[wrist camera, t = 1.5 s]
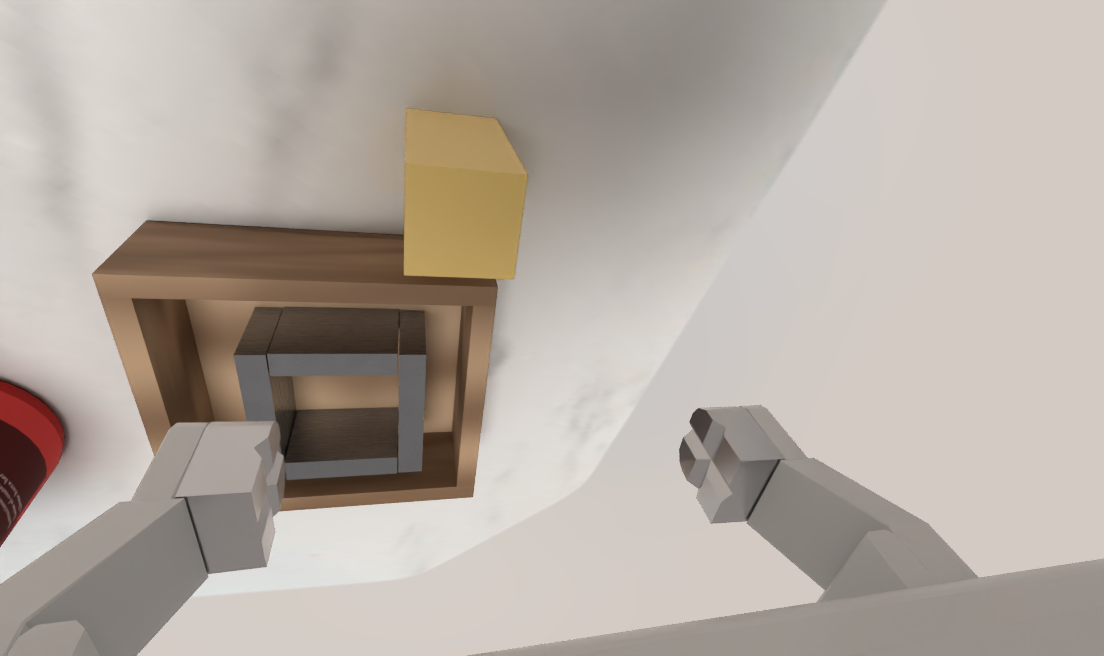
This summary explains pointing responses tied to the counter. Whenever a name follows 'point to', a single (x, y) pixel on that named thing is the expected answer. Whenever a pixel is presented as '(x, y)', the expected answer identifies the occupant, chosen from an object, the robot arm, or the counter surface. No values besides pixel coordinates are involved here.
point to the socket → (336, 350)
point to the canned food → (24, 452)
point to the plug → (461, 197)
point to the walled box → (296, 281)
